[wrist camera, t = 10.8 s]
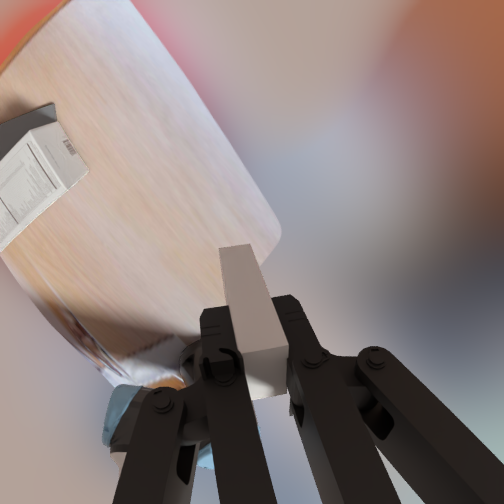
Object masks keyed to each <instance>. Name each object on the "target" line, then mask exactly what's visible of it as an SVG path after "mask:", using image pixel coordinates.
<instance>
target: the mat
mask: <svg viewBox="0 0 504 504" xmlns="http://www.w3.org/2000/svg"><path fill="white" fill-rule="evenodd" d="M53 122H57V118H56V111H55V104H51V105H48V106H45V107H43V108H40V109H37V110H34V111H32V112H29V113H26V114H24V115H21V116H19V117H16V118H14V119H12V120H9V121H7V122H4V123H2V124H0V161H1V160H2V159H3V157H4V156H5V155H6V154H7V153H8V152H9V151H10V150H11V149H12V148H13V147H14V145H15V144H16V143H17V142H18V141H19V140H20V139H21V138H22V137H23V136H24V135H25V134H26V133H27V132H28V131H29V130H31V129H34V128H37V127H41V126H44V125H47V124H50V123H53Z"/></svg>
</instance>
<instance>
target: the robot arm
mask: <svg viewBox="0 0 504 504" xmlns="http://www.w3.org/2000/svg"><path fill="white" fill-rule="evenodd" d="M219 255H220V263H221V270H222V278H223V285H224V292H225V298H226V304H227V306H221V307H214V308H207V309H204V310H203V312H202V314H201V316H200V329H201V340H200V341H197V342H195V343H193V344H191V345H190V346H188V347H187V348H186V349H185V350H184V351H183V352H182V354H181V356H180V360H179V365H180V374H181V376H182V378H183V381H184V383H185V385H186V388H183V389H181V390H178V391H177V390H176V389H174V388H171V387H158V388H156V389H153V388H147V387H143V386H133V385H126V384H121V385H118V386H117V387H116V388H115V389H114V391H113V393H112V395H111V398H110V401H109V405H108V408H107V412H106V417H105V422H104V430H103V434H102V442H103V444H104V445H105V446H107V447H111V448H110V457H111V458H112V459H113V460H114V462H115V463H116V464H117V465H118V467H119V481H118V485H117V488H116V492H115V496H114V499H113V503H112V504H190V501H191V494H192V488H193V482H194V476H195V470H196V464H197V465H198V466H199V467H204V468H206V469H215V475H216V481H217V488H218V493H219V499H220V504H277V500H276V497H275V493H274V489H273V486H272V482H271V478H270V474H269V470H268V466H267V463H266V458H265V455H264V451H263V447H262V443H261V436H260V427H259V426H258V422H257V418H256V414H255V410H254V405H253V401H252V400H256V399H262V398H267V397H272V396H277V395H282V394H286V393H287V388H288V391H289V394H290V409H289V412H290V416H293V415H294V419H295V421H296V425H297V428H298V431H299V434H300V437H301V440H302V443H303V446H304V449H305V452H306V455H307V458H308V461H309V464H310V467H311V470H312V473H313V476H314V479H315V482H316V485H317V488H318V491H319V494H320V497H321V500H322V503H323V504H401V502H400V499H399V497H398V495H397V492H396V490H395V488H394V486H393V484H392V481H391V479H390V477H389V475H388V472H387V470H386V468H385V466H384V464H383V462H382V460H381V457H380V455H379V453H378V451H377V448H378V449H379V450H380V451H381V453H382V454H383V455H384V456H385V457H386V458H387V460H388V461H389V462H390V463H391V464H392V465H393V467H394V468H395V469H396V470H397V471H398V473H399V474H400V475H401V476H402V477H403V479H404V480H405V481H406V482H407V483H408V484H409V486H410V487H411V488H412V489H413V490H414V491H415V492H416V494H418V496H419V497H420V498H421V499H422V501H423V502H424V503H425V504H504V464H503V463H502V462H501V461H500V460H499V459H498V458H497V457H496V456H495V455H494V454H493V453H492V452H491V451H490V450H489V449H488V448H487V447H486V446H485V445H484V444H483V443H482V442H481V441H480V440H479V439H478V438H477V437H476V436H475V435H474V434H473V433H472V432H471V431H470V430H469V429H468V428H467V427H466V426H465V425H464V424H463V423H462V422H461V421H460V420H459V419H458V418H457V417H456V416H455V415H454V414H453V413H452V412H451V411H450V410H449V409H448V408H447V407H446V406H445V405H444V404H443V403H442V402H441V401H440V400H439V399H438V398H437V397H436V396H435V395H434V394H433V393H432V392H431V391H430V390H429V389H428V388H427V387H426V386H425V385H424V384H423V383H422V382H420V380H419V379H418V378H417V377H415V376H414V375H413V374H412V373H411V372H410V371H409V370H408V369H407V368H406V367H405V366H404V365H403V364H402V363H401V362H400V361H399V360H398V359H397V358H396V357H395V356H394V355H393V354H391V353H390V352H389V351H388V350H386V349H384V348H381V347H378V346H370V347H367V348H364V349H363V350H362V351H361V352H359V355H358V357H351V356H350V357H349V356H345V357H344V356H336V355H333V354H330V352H329V351H328V350H326V349H324V348H323V347H322V346H321V345H320V344H319V341H318V339H317V337H316V335H315V333H314V331H313V329H312V327H311V325H310V323H309V321H308V319H307V317H306V314H305V312H304V311H303V308H302V306H301V304H300V302H299V301H298V300H297V299H295V298H294V297H293V296H292V295H284V296H278V297H273V298H271V297H270V295H269V292H268V289H267V287H266V284H265V281H264V279H263V276H262V274H261V271H260V268H259V266H258V263H257V260H256V258H255V255H254V252H253V250H252V247H251V245H250V244H245V245H238V246H231V247H224V248H219ZM375 445H376V447H377V448H376V447H375Z"/></svg>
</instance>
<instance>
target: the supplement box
mask: <svg viewBox="0 0 504 504" xmlns="http://www.w3.org/2000/svg"><path fill="white" fill-rule="evenodd" d="M88 172H89V169H88V168H87V166H86V165H85V163H84V162H83V160H82V159H81V157H80V156H79V154H78V153H77V151H76V149H75V148H74V146H73V145H72V143H71V141H70V140H69V138H68V137H67V135H66V133H65V132H64V130H63V128H62V127H61V125H60V124H59V122H58V121H57V122H53V123H50V124H47V125H44V126H41V127H37V128H34V129H31V130H29V131H28V132H27V133H26V134H25V135H24V136H23V137H22V138H21V139H20V140H19V141H18V142H17V143H16V144H15V145H14V147H13V148H12V149H11V150H10V151H9V152H8V153H7V154H6V155H5V156H4V157H3V159H2V160H1V161H0V252H1V251H2V250H3V249H4V248H5V247H6V246H7V245H8V244H9V243H10V242H11V241H12V240H13V239H14V238H15V237H16V236H17V235H18V234H19V233H20V232H22V231H23V230H24V229H25V228H26V227H27V226H28V225H29V224H30V223H31V222H32V221H33V220H34V219H35V218H36V217H37V216H39V215H40V214H41V213H42V212H43V211H44V210H45V209H47V208H48V207H49V206H50V205H51V204H52V203H54V202H55V201H56V200H57V199H58V198H60V197H61V196H62V195H63V194H64V193H65V192H67V191H68V190H69V189H70V188H71V187H72V186H74V185H75V184H76V183H77V182H78V181H79V180H80V179H82V178H83V177H84V176H85V175H86V174H87V173H88Z"/></svg>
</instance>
